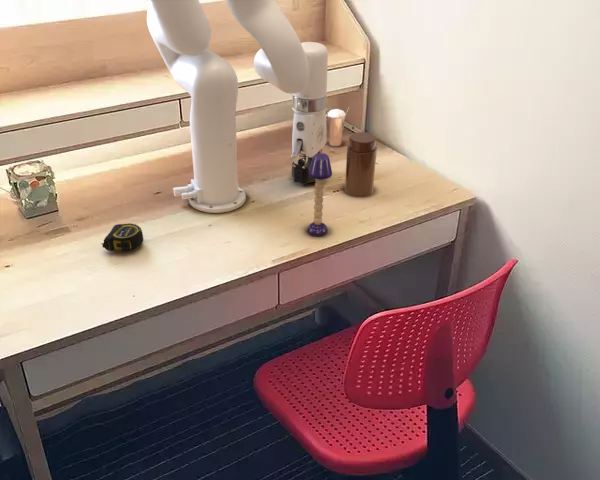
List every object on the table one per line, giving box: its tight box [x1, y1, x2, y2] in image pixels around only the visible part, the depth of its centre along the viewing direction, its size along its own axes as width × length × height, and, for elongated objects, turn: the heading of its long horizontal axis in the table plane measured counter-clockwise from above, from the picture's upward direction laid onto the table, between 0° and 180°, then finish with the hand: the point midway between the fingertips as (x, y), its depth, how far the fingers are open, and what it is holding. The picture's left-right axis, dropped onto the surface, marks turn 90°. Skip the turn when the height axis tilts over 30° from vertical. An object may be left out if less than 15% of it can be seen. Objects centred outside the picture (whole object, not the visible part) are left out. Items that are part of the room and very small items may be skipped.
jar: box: [344, 131, 378, 198], centre depth 153 cm, size 7×7×13 cm
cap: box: [291, 157, 316, 183], centre depth 159 cm, size 8×8×3 cm
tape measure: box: [101, 223, 144, 253], centre depth 134 cm, size 7×7×4 cm
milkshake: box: [327, 107, 350, 147], centre depth 175 cm, size 4×5×10 cm
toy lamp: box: [306, 152, 333, 237], centre depth 136 cm, size 5×5×17 cm
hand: (307, 174), depth 160 cm, fingers closed on cap, 7 cm apart
